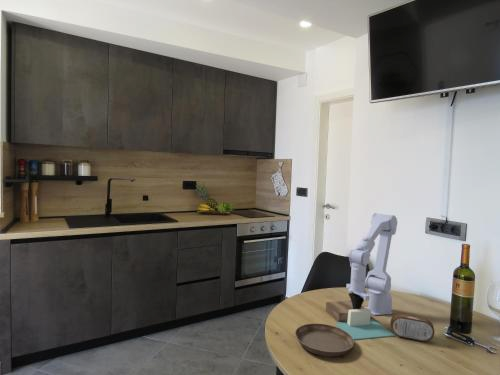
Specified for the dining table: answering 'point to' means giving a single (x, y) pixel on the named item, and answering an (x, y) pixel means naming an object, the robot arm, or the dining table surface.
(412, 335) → the tin
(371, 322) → the mat
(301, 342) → the plant saucer
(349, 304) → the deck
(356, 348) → the dining table surface
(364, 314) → the tile
